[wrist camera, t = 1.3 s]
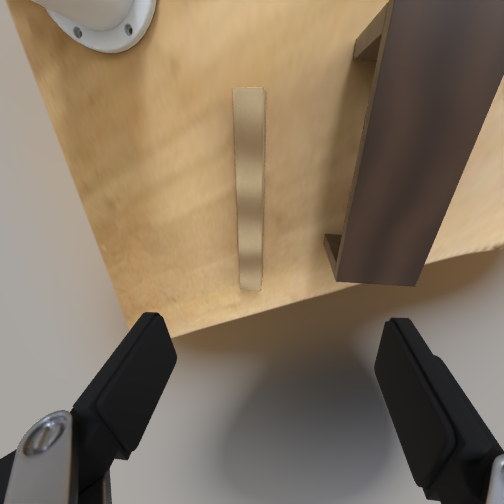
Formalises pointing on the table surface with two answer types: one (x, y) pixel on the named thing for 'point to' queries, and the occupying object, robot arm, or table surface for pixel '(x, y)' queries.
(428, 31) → the dark brown channel bracket
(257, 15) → the table surface
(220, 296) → the table surface
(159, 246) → the table surface
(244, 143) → the stick
